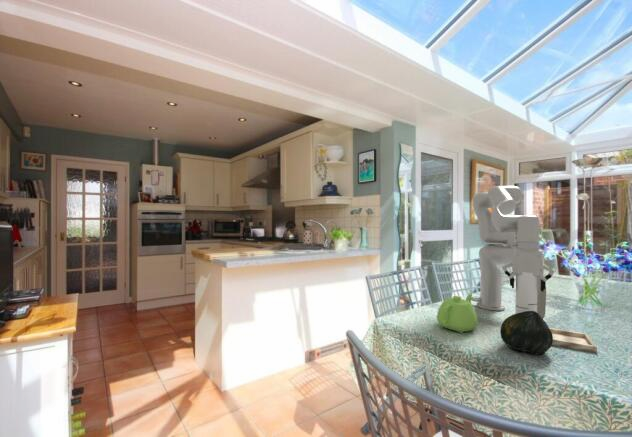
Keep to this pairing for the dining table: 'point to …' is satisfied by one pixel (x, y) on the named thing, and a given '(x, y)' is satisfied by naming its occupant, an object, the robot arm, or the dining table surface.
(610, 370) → the dining table surface
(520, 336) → the squash
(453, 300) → the teapot
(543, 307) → the grey tall rounded bottle
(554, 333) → the wooden tray
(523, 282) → the cylindrical container
